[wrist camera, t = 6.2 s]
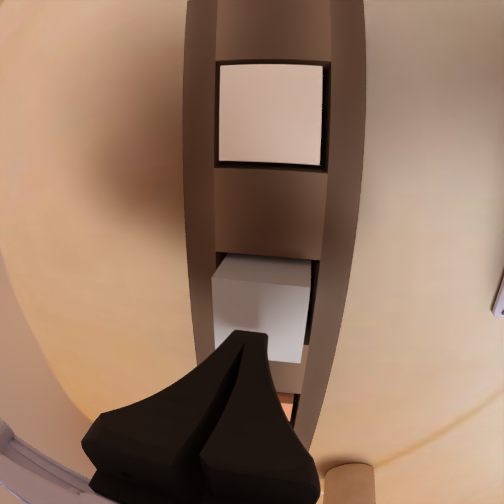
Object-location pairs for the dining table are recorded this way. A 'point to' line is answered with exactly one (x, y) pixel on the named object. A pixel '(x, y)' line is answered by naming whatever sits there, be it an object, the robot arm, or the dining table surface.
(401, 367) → the dining table surface
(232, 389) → the robot arm
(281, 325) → the light gray cube
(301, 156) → the beige cube
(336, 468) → the candle
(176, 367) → the dining table surface
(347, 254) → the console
